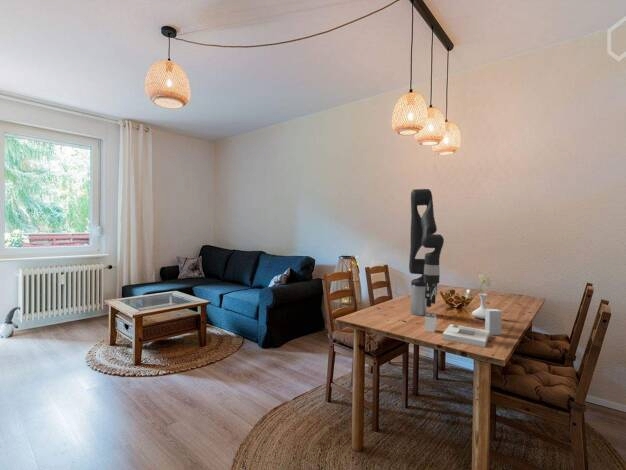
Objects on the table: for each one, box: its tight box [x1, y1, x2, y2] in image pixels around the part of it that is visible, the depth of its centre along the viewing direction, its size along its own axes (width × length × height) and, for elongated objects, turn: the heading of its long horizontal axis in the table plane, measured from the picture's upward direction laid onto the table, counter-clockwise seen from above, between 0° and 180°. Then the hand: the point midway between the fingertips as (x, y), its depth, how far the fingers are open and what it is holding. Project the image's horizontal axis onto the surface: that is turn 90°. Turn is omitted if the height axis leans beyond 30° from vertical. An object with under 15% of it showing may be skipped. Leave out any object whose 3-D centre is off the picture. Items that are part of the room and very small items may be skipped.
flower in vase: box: [471, 273, 491, 320], centre depth 194 cm, size 13×11×25 cm
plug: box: [424, 313, 437, 333], centre depth 170 cm, size 4×4×9 cm
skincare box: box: [484, 308, 502, 336], centre depth 166 cm, size 6×4×12 cm
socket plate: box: [442, 323, 490, 348], centre depth 160 cm, size 18×18×3 cm
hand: (430, 305), depth 170 cm, fingers open, 8 cm apart
